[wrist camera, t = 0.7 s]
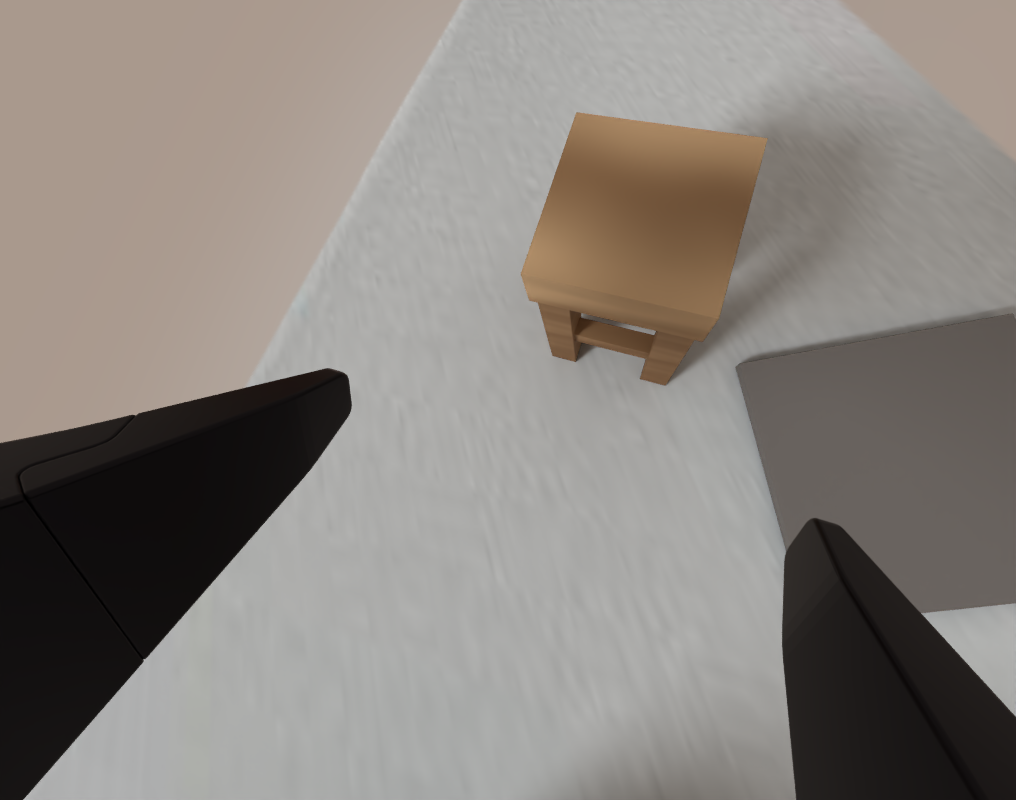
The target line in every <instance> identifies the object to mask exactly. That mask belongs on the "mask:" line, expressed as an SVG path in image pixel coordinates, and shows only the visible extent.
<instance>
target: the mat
mask: <svg viewBox="0 0 1016 800" xmlns="http://www.w3.org/2000/svg"><path fill="white" fill-rule="evenodd" d="M736 370H737V373H738V377H739V381H740V384H741V388H742V392H743V395H744V399H745V402H746V406H747V410H748V413H749V417H750V421H751V424H752V428H753V431H754V435H755V439H756V442H757V446H758V450H759V453H760V457H761V460H762V464H763V468H764V471H765V475H766V479H767V482H768V486H769V489H770V493H771V497H772V500H773V504H774V508H775V511H776V515H777V519H778V522H779V526H780V529H781V533H782V537H783V540H784V544H785V548H786V551H787V549H788V547H789V546H790V544H791V543H792V541H793V540H794V539H795V537H796V536H797V534H798V533H799V532H800V530H801V529H802V527H803V526H804V525H805V523H806V522H807V521H808V520H809V519H811V518H818V519H822V520H825V521H828V522H832V523H835V524H838V525H840V526H841V527H842V528H843V529H844V530H845V531H846V532H847V533H848V534H849V535H850V536H851V537H852V538H853V540H854V541H855V542H856V543H857V544H858V545H859V546H860V547H861V548H862V549H863V550H864V552H865V553H866V554H867V555H868V556H869V557H870V558H871V559H872V560H873V561H874V562H875V564H876V565H877V566H878V567H879V568H880V569H881V570H882V571H883V572H884V573H885V574H886V576H887V577H888V578H889V579H890V580H891V581H892V582H893V583H894V584H895V585H896V587H897V588H898V589H899V590H900V591H901V592H902V593H903V594H904V595H905V596H906V597H907V599H908V600H909V601H910V602H911V603H912V604H913V605H914V606H915V607H916V608H917V609H918V611H919V612H920V613H926V612H936V611H945V610H955V609H964V608H974V607H983V606H993V605H1002V604H1012V603H1016V319H1015V317H1014V314H1007V315H1002V316H996V317H991V318H986V319H980V320H975V321H969V322H964V323H958V324H953V325H947V326H942V327H936V328H931V329H925V330H920V331H915V332H909V333H904V334H898V335H893V336H887V337H882V338H876V339H871V340H865V341H860V342H854V343H849V344H844V345H838V346H833V347H827V348H822V349H816V350H811V351H805V352H800V353H794V354H789V355H784V356H778V357H773V358H767V359H762V360H756V361H751V362H745V363H740V364H739V365H738V366H737V367H736Z"/></svg>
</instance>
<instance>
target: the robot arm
mask: <svg viewBox="0 0 1016 800" xmlns="http://www.w3.org/2000/svg"><path fill="white" fill-rule="evenodd" d="M351 407H352V402H351V394H350V385H349V379H348V376H347V375H346V374H345V373H343V372H340V371H337V370H334V369H330V368H326V369H322V370H318V371H314V372H309V373H305V374H301V375H297V376H293V377H288V378H284V379H280V380H276V381H272V382H268V383H263V384H259V385H255V386H251V387H247V388H243V389H239V390H234V391H230V392H226V393H222V394H218V395H213V396H209V397H205V398H201V399H197V400H193V401H189V402H184V403H180V404H176V405H172V406H168V407H163V408H159V409H155V410H151V411H147V412H142V413H139V414H137V415H136V416H135V415H129V416H126V417H121V418H117V419H113V420H109V421H105V422H100V423H95V424H91V425H87V426H83V427H78V428H74V429H69V430H64V431H59V432H54V433H49V434H44V435H39V436H34V437H29V438H24V439H19V440H14V441H9V442H4V443H0V800H23V799H24V798H25V797H26V796H27V795H28V794H29V793H30V792H31V790H32V789H33V788H34V787H35V786H36V785H37V784H38V782H39V781H40V780H41V779H42V778H43V777H44V775H45V774H46V773H47V772H48V771H49V770H50V769H51V767H52V766H53V765H54V764H55V763H56V762H57V761H58V759H59V758H60V757H61V756H62V755H63V754H64V753H65V751H66V750H67V749H68V748H69V747H70V746H71V744H72V743H73V742H74V741H75V740H76V739H77V738H78V736H79V735H80V734H81V733H82V732H83V731H84V730H85V728H86V727H87V726H88V725H89V724H90V723H91V722H92V720H93V719H94V718H95V717H96V716H97V715H98V713H99V712H100V711H101V710H102V709H103V708H104V707H105V705H106V704H107V703H108V702H109V701H110V700H111V699H112V697H113V696H114V695H115V694H116V693H117V692H118V691H119V689H120V688H121V687H122V686H123V685H124V684H125V683H126V681H127V680H128V679H129V678H130V677H131V676H132V674H133V673H134V672H135V671H136V670H137V669H138V668H139V666H140V665H141V664H142V663H143V661H144V660H143V659H146V658H147V657H148V656H149V655H150V653H151V652H152V651H153V650H154V649H155V648H156V647H157V645H158V644H159V643H160V642H161V641H162V640H163V639H164V637H165V636H166V635H167V634H168V633H169V632H170V631H171V629H172V628H173V627H174V626H175V625H176V624H177V622H178V621H179V620H180V619H181V618H182V617H183V616H184V614H185V613H186V612H187V611H188V610H189V609H190V608H191V606H192V605H193V604H194V603H195V602H196V601H197V600H198V598H199V597H200V596H201V595H202V594H203V593H204V592H205V590H206V589H207V588H208V587H209V586H210V585H211V584H212V582H213V581H214V580H215V579H216V578H217V577H218V575H219V574H220V573H221V572H222V571H223V570H224V569H225V567H226V566H227V565H228V564H229V563H230V562H231V561H232V559H233V558H234V557H235V556H236V555H237V554H238V553H239V551H240V550H241V549H242V548H243V547H244V546H245V545H246V543H247V542H248V541H249V540H250V539H251V538H252V537H253V535H254V534H255V533H256V532H257V531H258V530H259V528H260V527H261V526H262V525H263V524H264V523H265V522H266V520H267V519H268V518H269V517H270V516H271V515H272V514H273V512H274V511H275V510H276V509H277V508H278V507H279V506H280V504H281V503H282V502H283V501H284V500H285V499H286V498H287V496H288V495H289V494H290V493H291V492H292V491H293V490H294V488H295V487H296V486H297V485H298V484H299V483H300V481H301V480H302V479H303V478H304V477H305V476H306V474H307V473H308V472H309V471H310V470H311V468H312V467H313V466H314V464H315V463H316V462H317V460H318V459H319V457H320V456H321V455H322V453H323V452H324V450H325V449H326V447H327V446H328V445H329V443H330V442H331V440H332V439H333V437H334V436H335V435H336V433H337V432H338V430H339V429H340V428H341V426H342V425H343V423H344V422H345V420H346V419H347V418H348V416H349V414H350V412H351ZM782 650H783V664H784V674H785V685H786V695H787V706H788V717H789V727H790V738H791V749H792V759H793V770H794V780H795V791H796V800H1016V717H1015V715H1014V714H1013V713H1012V712H1011V711H1010V710H1009V709H1008V708H1007V707H1006V706H1005V705H1004V703H1003V702H1002V701H1001V700H1000V699H999V698H998V697H997V696H996V695H995V694H994V692H993V691H992V690H991V689H990V688H989V687H988V686H987V685H986V684H985V683H984V682H983V680H982V679H981V678H980V677H979V676H978V675H977V674H976V673H975V672H974V671H973V670H972V668H971V667H970V666H969V665H968V664H967V663H966V662H965V661H964V660H963V659H962V658H961V656H960V655H959V654H958V653H957V652H956V651H955V650H954V649H953V648H952V647H951V646H950V644H949V643H948V642H947V641H946V640H945V639H944V638H943V637H942V636H941V635H940V633H939V632H938V631H937V630H936V629H935V628H934V627H933V626H932V625H931V624H930V623H929V621H928V620H927V619H926V618H925V617H924V616H923V615H922V614H921V613H920V612H919V611H918V609H917V608H916V607H915V606H914V605H913V604H912V603H911V602H910V601H909V600H908V599H907V597H906V596H905V595H904V594H903V593H902V592H901V591H900V590H899V589H898V588H897V587H896V585H895V584H894V583H893V582H892V581H891V580H890V579H889V578H888V577H887V576H886V574H885V573H884V572H883V571H882V570H881V569H880V568H879V567H878V566H877V565H876V564H875V562H874V561H873V560H872V559H871V558H870V557H869V556H868V555H867V554H866V553H865V552H864V550H863V549H862V548H861V547H860V546H859V545H858V544H857V543H856V542H855V541H854V540H853V538H852V537H851V536H850V535H849V534H848V533H847V532H846V531H845V530H844V529H843V528H842V527H841V526H840V525H838V524H835V523H832V522H828V521H825V520H822V519H818V518H811V519H809V520H808V521H807V522H806V523H805V525H804V526H803V527H802V529H801V530H800V532H799V533H798V534H797V536H796V537H795V539H794V540H793V541H792V543H791V544H790V546H789V547H788V549H787V551H786V555H785V561H784V590H783V621H782Z"/></svg>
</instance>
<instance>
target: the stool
mask: <svg viewBox="0 0 1016 800" xmlns="http://www.w3.org/2000/svg"><path fill="white" fill-rule="evenodd" d="M767 139H768V138H761V137H753V136H746V135H739V134H731V133H724V132H717V131H709V130H702V129H695V128H687V127H680V126H673V125H665V124H658V123H651V122H643V121H636V120H629V119H621V118H614V117H607V116H599V115H592V114H584V113H577V112H576V115H575V118H574V121H573V124H572V127H571V130H570V133H569V135H568V138H567V141H566V144H565V147H564V150H563V153H562V156H561V159H560V162H559V165H558V167H557V170H556V173H555V176H554V179H553V182H552V185H551V188H550V191H549V194H548V196H547V199H546V202H545V205H544V208H543V211H542V214H541V217H540V220H539V223H538V226H537V228H536V231H535V234H534V237H533V240H532V243H531V246H530V249H529V252H528V255H527V257H526V260H525V263H524V266H523V269H522V272H521V276H522V279H523V282H524V286H525V289H526V292H527V295H528V298H529V300H530V301H534V302H538V305H539V308H540V312H541V316H542V319H543V323H544V327H545V330H546V334H547V337H548V341H549V345H550V348H551V352H552V356H556V357H559V358H563V359H567V360H571V361H574V362H576V359H577V356H578V353H579V349H580V346H581V343H586V344H590V345H594V346H598V347H601V348H605V349H609V350H613V351H617V352H621V353H625V354H629V355H633V356H637V357H641V358H645V359H646V360H645V363H644V367H643V370H642V374H641V377H640V379H642V380H646V381H650V382H654V383H657V384H661V385H666V384H667V382H668V381H669V379H670V377H671V376H672V374H673V373H674V371H675V370H676V368H677V367H678V365H679V363H680V362H681V360H682V359H683V357H684V356H685V354H686V353H687V351H688V349H689V348H690V346H691V345H692V343H693V342H694V340H697V341H701V342H703V341H704V339H705V338H706V336H707V335H708V334H709V332H710V331H711V329H712V328H713V326H714V325H715V324H716V322H717V321H718V319H719V316H720V313H721V309H722V305H723V302H724V298H725V294H726V291H727V287H728V283H729V279H730V276H731V272H732V268H733V265H734V261H735V257H736V254H737V250H738V246H739V242H740V239H741V235H742V231H743V228H744V224H745V220H746V217H747V213H748V209H749V205H750V202H751V198H752V194H753V191H754V187H755V183H756V180H757V176H758V172H759V168H760V165H761V161H762V157H763V154H764V150H765V146H766V143H767ZM581 313H584V314H588V315H592V316H596V317H601V318H605V319H609V320H613V321H617V322H621V323H626V324H630V325H634V326H638V327H642V328H647V329H651V330H655V331H656V333H655V335H650V334H646V333H642V332H638V331H634V330H630V329H626V328H622V327H617V326H613V325H609V324H605V323H601V322H597V321H593V320H588V319H584V318H581Z"/></svg>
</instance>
